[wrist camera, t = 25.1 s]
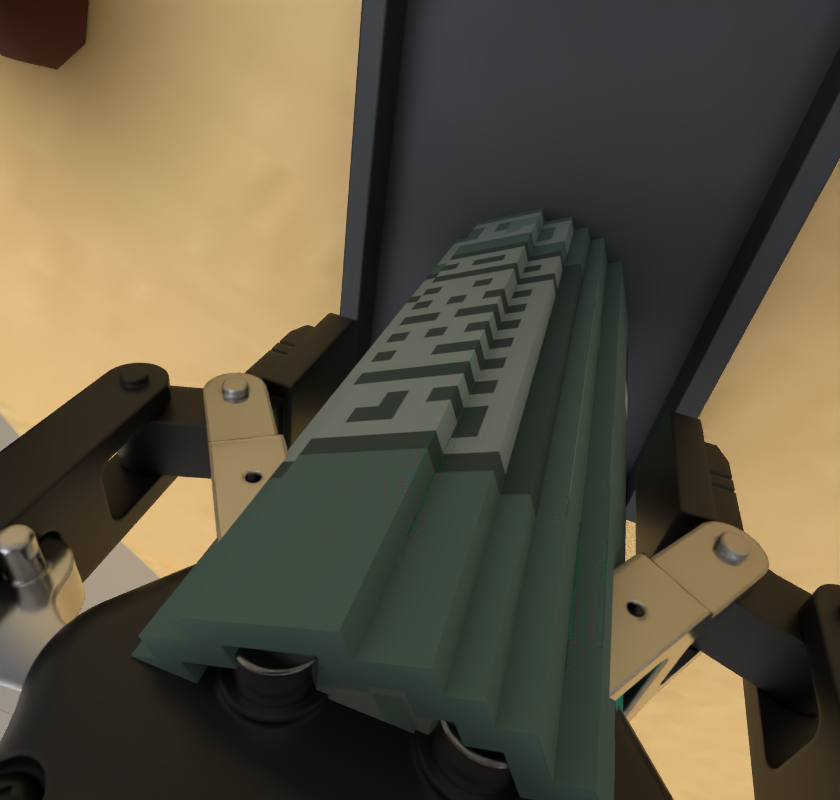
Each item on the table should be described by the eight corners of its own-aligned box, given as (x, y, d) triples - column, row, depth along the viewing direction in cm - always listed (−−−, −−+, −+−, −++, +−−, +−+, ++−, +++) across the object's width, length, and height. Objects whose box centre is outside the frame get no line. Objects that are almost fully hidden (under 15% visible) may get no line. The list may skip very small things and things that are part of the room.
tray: (1454, -1096, 7) (1740, -1486, 5) (639, 485, 22) (639, 524, 20) (485, -993, 9) (448, -1248, 7) (353, 396, 24) (331, 425, 22)
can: (463, 392, 22) (253, 851, 10) (419, 235, 19) (47, 605, 7) (635, 376, 19) (638, 961, 7) (613, 193, 16) (562, 651, 4)
